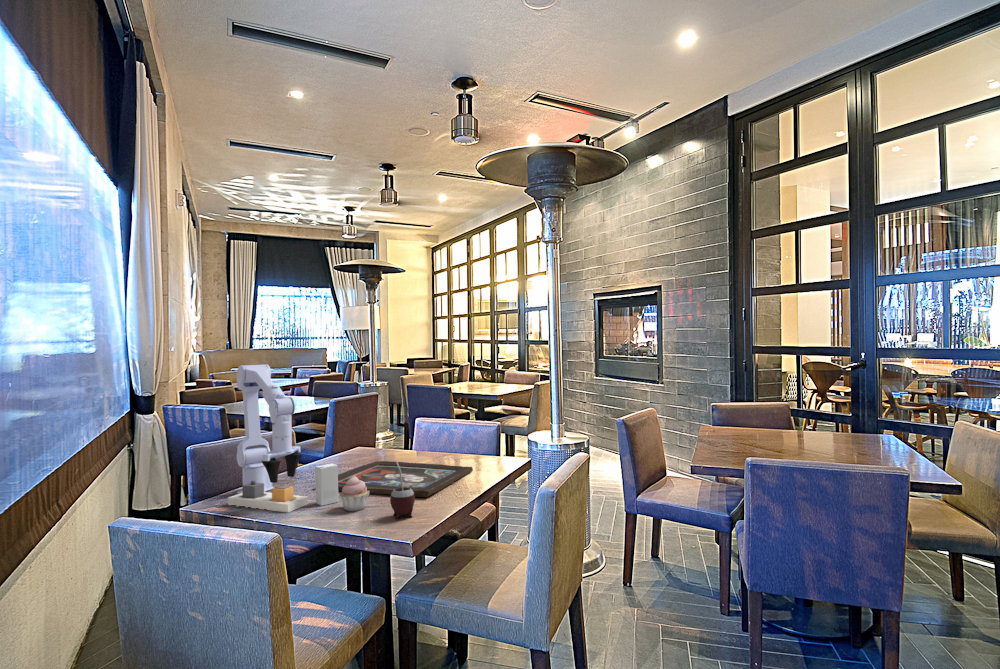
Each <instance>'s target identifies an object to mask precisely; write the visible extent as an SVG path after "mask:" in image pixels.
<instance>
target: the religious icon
mask: <svg viewBox="0 0 1000 669" xmlns="http://www.w3.org/2000/svg"><path fill="white" fill-rule="evenodd" d="M396 462H398V464H399V466H400V470H401V473H402V474H401V475H402V483H403V487H408V488H411V489H412V491H413V492H414V496H415V498H416V497H417V498H418V497H419V498H427V497H430V496H431V495H434V494H435V493H437V492H440V491H441V490H443V489H445V488H446V487H448V486H449V485H450V486H453V485H454V486H456V483H455V482H456V481H458V480H460V479H461V478H463V477H465V476H467V475H469V474H470V473H472V472H473V470H474V468H473V466H461V465H447V464H439V463H438V464H437V463H423V462H420V463H419V462H407V461H406V462H404V461H389V460H380V461H379V460H377V461H372V462H370V463H366V464H363V465H360V466H358V467H354V468H352V469H349V470H347V471H344V472H341V473H338V492H342V489H343V487H344V486H345V485H346V482H347V481H348V480H349V479H350V478H352V477H353V476H355V477H357V478H358V479H359V480H361V481H363V482H364V483H365V485H366V487H367V491H369V494H376V495H378V494H379V495H390V496H391V493H392V492H393V490H394V489H396V488H400V487H401V481H400V474H399V469H398V466H397V464H396Z"/></svg>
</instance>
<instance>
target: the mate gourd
mask: <svg viewBox="0 0 1000 669" xmlns="http://www.w3.org/2000/svg"><path fill="white" fill-rule="evenodd" d="M395 462H396V464H397V466H398V469H399V474H400V481H401V487H400V488H396V489H394V490H393V492H392V493H391V495H390V498H389V499H390V500H389V503H390V505H391V508H392V510H393V512H394V513H392V514H393V517H395V520H396V521H399V520H400V519H403V518H407V519H412V518H413V515H412V513H413V509H414V505H415V500H416V499H415V498H416V497H415V496H414V492H413V491H412V489H411V488H408V487H403V483H402V475H401V474H402V473H401V470H400V466H399V464H398V462H399V461H395Z"/></svg>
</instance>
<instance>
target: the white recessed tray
mask: <svg viewBox="0 0 1000 669" xmlns="http://www.w3.org/2000/svg"><path fill="white" fill-rule="evenodd" d="M227 505H228V506H231V505H236V506H235V507H239V506H245V507H244V508H248V507H251V508H250V509H256V508H259V509H258V510H264V509H267V511H274V512H282V513H290V512H292V511H295V510H297V509H300V508H302V507H304V506H307V505H309V496H305V495H297V494H296V495H295V494H294V499H291V500H289V501H287V502H277V501H272V492H268V491H265V492H264V495H263V496H260V497H258V498H255V499H251V498H243V493H240V494H238V493H236V494H235V495H232V496H228V497H227Z"/></svg>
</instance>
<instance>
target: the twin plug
mask: <svg viewBox="0 0 1000 669" xmlns="http://www.w3.org/2000/svg"><path fill="white" fill-rule="evenodd" d="M241 488H242V489H241V491H243V498H251V499H255V498H258V497H260V496H263V495H264V483H256V481H251V483H248V484H245V485H243V484H242V487H241Z"/></svg>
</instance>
